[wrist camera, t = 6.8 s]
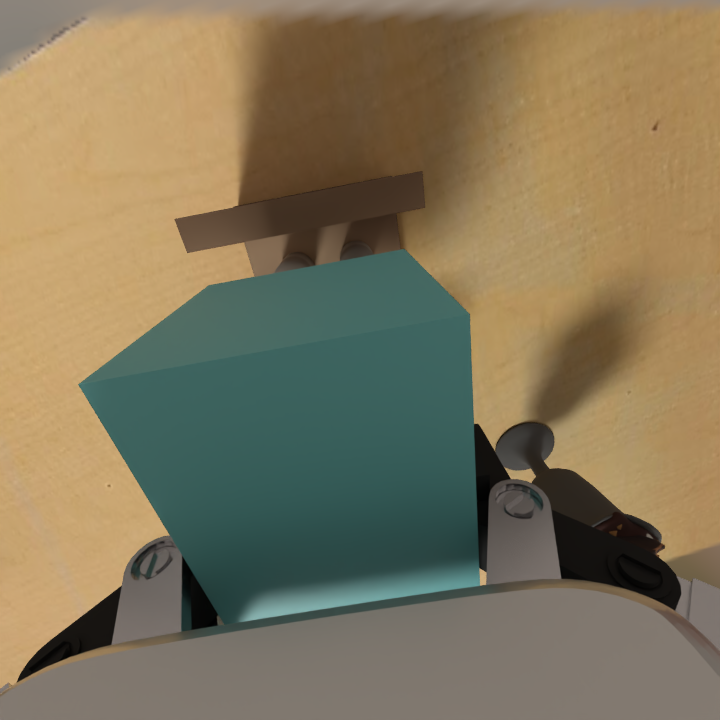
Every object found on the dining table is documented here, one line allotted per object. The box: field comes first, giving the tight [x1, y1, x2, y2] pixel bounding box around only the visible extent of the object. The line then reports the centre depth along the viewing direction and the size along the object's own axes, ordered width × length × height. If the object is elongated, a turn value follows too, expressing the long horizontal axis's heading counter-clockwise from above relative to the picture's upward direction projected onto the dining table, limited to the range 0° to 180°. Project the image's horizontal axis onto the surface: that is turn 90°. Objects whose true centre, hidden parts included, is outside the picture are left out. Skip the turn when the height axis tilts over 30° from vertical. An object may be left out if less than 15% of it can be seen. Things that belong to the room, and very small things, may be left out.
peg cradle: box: [175, 171, 425, 277], centre depth 20 cm, size 16×9×9 cm, turn 10°
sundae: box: [495, 423, 665, 557], centre depth 23 cm, size 7×7×15 cm
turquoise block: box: [78, 249, 480, 625], centre depth 11 cm, size 12×6×6 cm, turn 10°
